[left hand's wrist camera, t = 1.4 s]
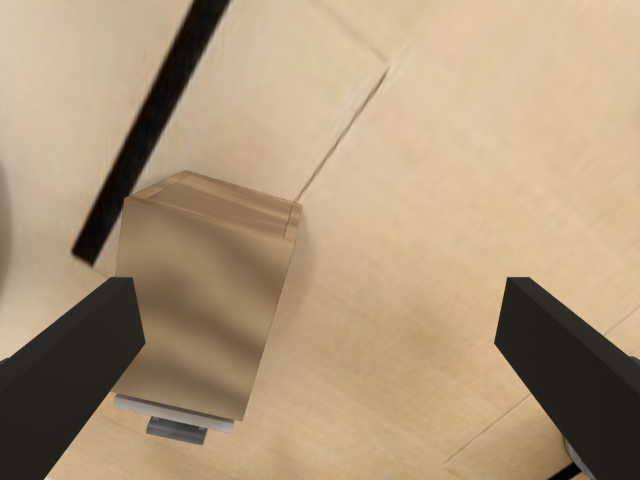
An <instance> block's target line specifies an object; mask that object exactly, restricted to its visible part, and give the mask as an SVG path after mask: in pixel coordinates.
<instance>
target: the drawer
mask: <svg viewBox="0 0 640 480" xmlns="http://www.w3.org/2000/svg"><path fill="white" fill-rule="evenodd" d="M113 407H114V408H118V409H123V410H127V411H132V412H136V413H141V414H145V415H150V416H152V417H151V419H150V421H149V423H148V426H147V430H146V433H147V434H152V435H156V436H161V437H165V438H170V439H175V440H179V441H184V442H189V443H193V444H198V445H203V443H204V440H205V437H206V434H207V431H208V429H213V430H217V431H222V432H226V433H231V431H232V428H233V424H234V420H233V419H229V418H224V417H220V416H216V415H211V414H207V413H202V412H198V411H193V410H189V409H184V408H180V407H176V406H171V405H167V404H162V403H158V402H153V401H149V400H145V399H140V398H136V397H131V396H127V395H122V394H118V393H117V395H116V396H115V399H114V406H113Z"/></svg>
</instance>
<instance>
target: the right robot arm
mask: <svg viewBox="0 0 640 480" xmlns="http://www.w3.org/2000/svg"><path fill="white" fill-rule="evenodd" d="M564 443H565V447H566V450H567V452H568V453H569V455H570V456H571V458H572V459H573V461H574V462H575V463H576V465H577V466H578V467H579V468H580V469H581V470H582V471H583V472H584V474H585V475H587V476H588V477H589V478H590V479H591V480H596V479H595V477H594V476H593V475H592V473H591V472H590V471H589V469H588V468H587V467H586V465H585V464H584V463H583V461H582V460H581V459H580V457H579V456H578V455H577V453H576V452H575V451H574V449H573V448H572V447H571V445H570V444H569V443H568V441H567V440H566V439H565V437H564Z"/></svg>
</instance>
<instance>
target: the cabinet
mask: <svg viewBox="0 0 640 480" xmlns="http://www.w3.org/2000/svg"><path fill="white" fill-rule="evenodd" d="M301 209H302V205H301V204H298V203H294V202H291V201H287V200H284V199H281V198H277V197H274V196H270V195H267V194H264V193H260V192H257V191H254V190H250V189H247V188H243V187H240V186H237V185H233V184H230V183H226V182H223V181H220V180H216V179H213V178H209V177H206V176H203V175H199V174H196V173H193V172H189V171H186V170H185V171H183V172H180V173H178V174H176V175H174V176H172V177H169V178H167V179H165V180H163V181H161V182H159V183H157V184H154V185H152V186H150V187H148V188H146V189H144V190H141V191H139V192H137V193H135V194H133V195H131V196H129V197H126V198H125V199H124V206H123V215H122V223H121V232H120V241H119V249H118V258H117V267H116V276H115V277H133V281H134V286H135V291H136V296H137V301H138V306H139V311H140V316H141V321H142V326H143V331H144V336H145V341H146V344H145V345H144V346H143V348H142V349H141V350H140V352H139V353H138V354H137V356H136V357H135V358H134V360H133V361H132V363H131V364H130V365H129V367H128V368H127V369H126V371H125V372H124V373H123V375H122V376H121V377H120V379H119V380H118V381H117V383H116V384H115V385H114V387H113V388H112V389H111V391H110V392H114V393H118V394H122V395H127V396H131V397H136V398H140V399H145V400H149V401H153V402H158V403H162V404H167V405H171V406H176V407H180V408H184V409H189V410H193V411H198V412H202V413H207V414H211V415H216V416H220V417H224V418H229V419H233V420H238V421H242V420H243V417H244V413H245V410H246V407H247V404H248V400H249V397H250V394H251V390H252V387H253V384H254V380H255V377H256V374H257V370H258V367H259V364H260V360H261V357H262V354H263V350H264V347H265V344H266V340H267V337H268V334H269V331H270V327H271V324H272V321H273V317H274V314H275V311H276V307H277V304H278V301H279V297H280V294H281V291H282V287H283V284H284V281H285V277H286V274H287V271H288V267H289V264H290V261H291V258H292V254H293V251H294V248H295V242H296V237H297V231H298V226H299V220H300V215H301Z"/></svg>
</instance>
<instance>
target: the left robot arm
mask: <svg viewBox="0 0 640 480" xmlns="http://www.w3.org/2000/svg"><path fill="white" fill-rule="evenodd" d="M145 344H146V341H145V336H144V331H143V326H142V321H141V316H140V311H139V306H138V301H137V296H136V291H135V286H134V281H133V277H110V278H109V279H108V280H107V281H105V282H104V283H103V284H102V285H100V286H99V287H98V288H97V289H95V290H94V291H93V292H92V293H90V294H89V295H88V296H87V297H85V298H84V299H83V300H81V301H80V302H79V303H78V304H76V305H75V306H74V307H73V308H71V309H70V310H69V311H68V312H66V313H65V314H64V315H63V316H61V317H60V318H59V319H58V320H56V321H55V322H54V323H53V324H51V325H50V326H49V327H48V328H46V329H45V330H44V331H42V332H41V333H40V334H39V335H37V336H36V337H35V338H34V339H32V340H31V341H30V342H29V343H27V344H26V345H25V346H24V347H22V348H21V349H20V350H19V351H17V352H16V353H15V354H14V355H12V356H11V357H10V358H6V359H4V360H2V361H0V480H44V479H45V477H46V476H47V475H48V473H49V472H50V471H51V469H52V468H53V467H54V465H55V464H56V463H57V461H58V460H59V459H60V457H61V456H62V455H63V453H64V452H65V451H66V449H67V448H68V447H69V445H70V444H71V443H72V441H73V440H74V439H75V437H76V436H77V435H78V433H79V432H80V431H81V429H82V428H83V427H84V425H85V424H86V423H87V421H88V420H89V419H90V417H91V416H92V415H93V413H94V412H95V411H96V409H97V408H98V407H99V405H100V404H101V403H102V401H103V400H104V399H105V397H106V396H107V395H108V393H109V392H110V391H111V389H112V388H113V387H114V385H115V384H116V383H117V381H118V380H119V379H120V377H121V376H122V375H123V373H124V372H125V371H126V369H127V368H128V367H129V365H130V364H131V363H132V361H133V360H134V358H135V357H136V356H137V354H138V353H139V352H140V350H141V349H142V348H143V346H144V345H145ZM494 344H495V345H496V346H497V348H498V349H499V350H500V352H501V353H502V354H503V356H504V357H505V358H506V360H507V361H508V363H509V364H510V365H511V367H512V368H513V369H514V371H515V372H516V373H517V375H518V376H519V377H520V379H521V380H522V381H523V383H524V384H525V385H526V387H527V388H528V389H529V391H530V392H531V393H532V395H533V396H534V397H535V399H536V400H537V401H538V403H539V404H540V405H541V407H542V408H543V409H544V411H545V412H546V413H547V415H548V416H549V417H550V419H551V420H552V421H553V423H554V424H555V425H556V427H557V428H558V429H559V431H560V432H561V433H562V435H563V436H564V437H565V439H566V440H567V441H568V443H569V444H570V445H571V447H572V448H573V449H574V451H575V452H576V453H577V455H578V456H579V457H580V459H581V460H582V461H583V463H584V464H585V465H586V467H587V468H588V469H589V471H590V472H591V473H592V475H593V476H594V477H595V479H596V480H640V360H639V359H637V358H635V357H633V356H628V355H626V354H625V353H624V352H623V351H621V350H620V349H619V348H618V347H616V346H615V345H614V344H613V343H611V342H610V341H609V340H608V339H606V338H605V337H604V336H603V335H601V334H600V333H599V332H598V331H596V330H595V329H594V328H592V327H591V326H590V325H589V324H587V323H586V322H585V321H584V320H582V319H581V318H580V317H579V316H577V315H576V314H575V313H574V312H572V311H571V310H570V309H569V308H567V307H566V306H565V305H564V304H562V303H561V302H560V301H559V300H557V299H556V298H555V297H553V296H552V295H551V294H550V293H548V292H547V291H546V290H545V289H543V288H542V287H541V286H540V285H538V284H537V283H536V282H535V281H533V280H532V279H531V278H530V277H507V281H506V286H505V291H504V296H503V301H502V306H501V311H500V316H499V321H498V326H497V331H496V336H495V341H494Z"/></svg>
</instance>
